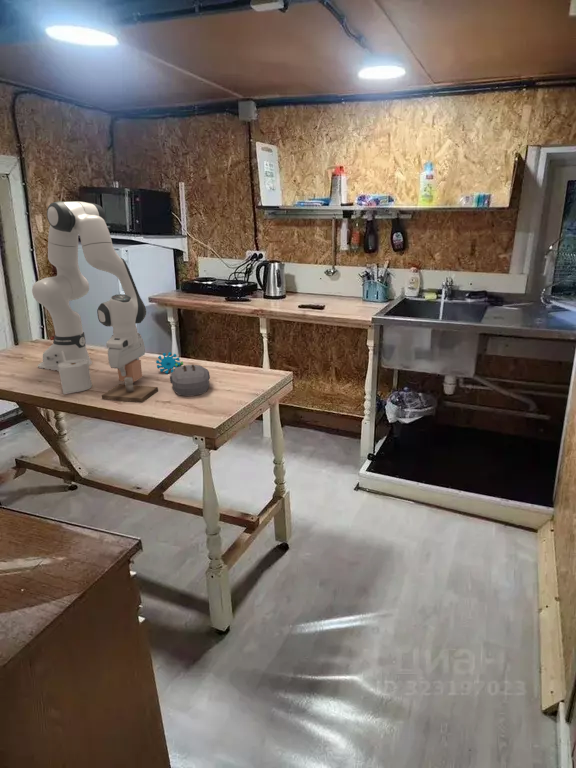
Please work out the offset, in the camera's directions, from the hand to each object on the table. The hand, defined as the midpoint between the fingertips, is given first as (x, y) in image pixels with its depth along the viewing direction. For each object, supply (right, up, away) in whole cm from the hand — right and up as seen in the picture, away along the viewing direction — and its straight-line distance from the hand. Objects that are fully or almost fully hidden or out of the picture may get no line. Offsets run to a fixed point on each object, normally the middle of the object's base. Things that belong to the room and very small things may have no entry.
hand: (129, 372), depth 193 cm
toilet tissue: (-19, -6, -3) cm, 20 cm away
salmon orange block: (0, -2, +1) cm, 3 cm away
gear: (+12, +1, +15) cm, 19 cm away
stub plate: (+4, -9, -11) cm, 14 cm away
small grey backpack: (+25, -7, -5) cm, 26 cm away
